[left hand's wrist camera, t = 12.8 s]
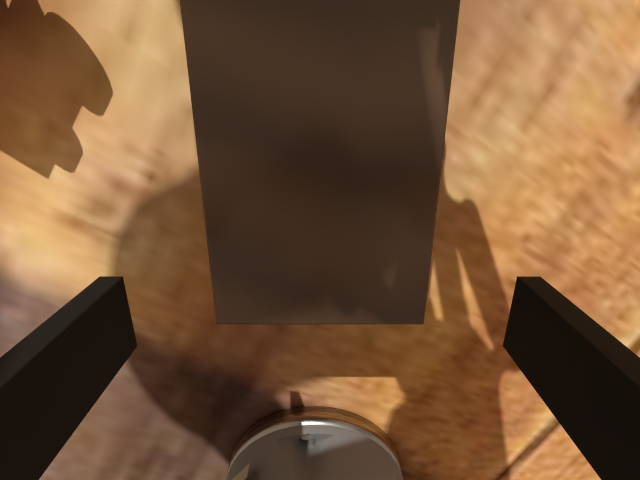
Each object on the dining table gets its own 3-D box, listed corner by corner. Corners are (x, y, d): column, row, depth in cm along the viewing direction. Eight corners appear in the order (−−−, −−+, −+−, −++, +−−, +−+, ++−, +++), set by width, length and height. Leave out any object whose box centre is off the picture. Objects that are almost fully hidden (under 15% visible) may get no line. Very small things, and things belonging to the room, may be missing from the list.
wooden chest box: (222, -48, 20) (163, -135, 13) (417, -48, 20) (476, -135, 13) (245, 260, 27) (215, 325, 19) (394, 260, 27) (424, 325, 19)
